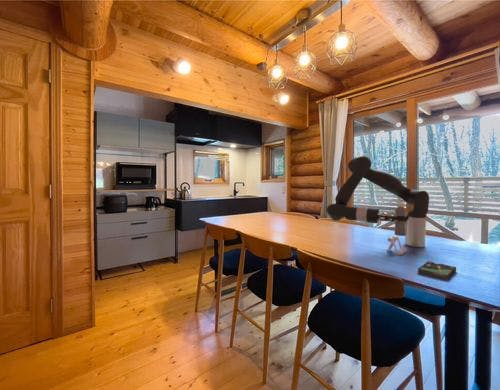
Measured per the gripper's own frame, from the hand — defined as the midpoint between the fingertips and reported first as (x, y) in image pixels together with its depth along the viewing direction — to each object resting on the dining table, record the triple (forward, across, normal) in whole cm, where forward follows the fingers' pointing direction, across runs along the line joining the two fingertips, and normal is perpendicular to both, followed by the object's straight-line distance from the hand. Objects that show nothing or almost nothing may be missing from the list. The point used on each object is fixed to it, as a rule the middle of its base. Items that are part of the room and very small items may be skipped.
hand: (407, 218), depth 113 cm
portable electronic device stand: (-7, +21, +22) cm, 31 cm away
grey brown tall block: (-3, 0, +8) cm, 8 cm away
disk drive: (+12, -2, +23) cm, 25 cm away
